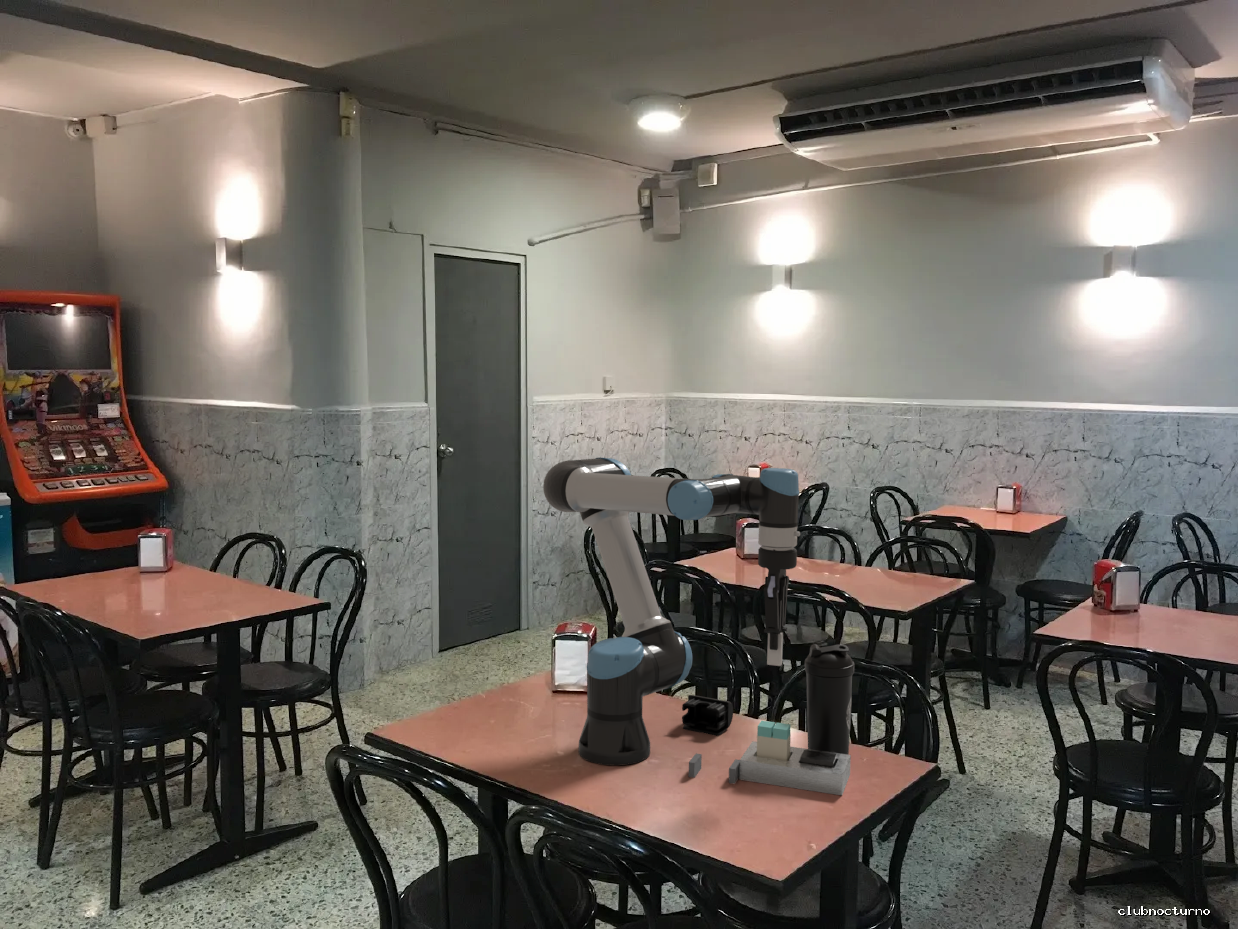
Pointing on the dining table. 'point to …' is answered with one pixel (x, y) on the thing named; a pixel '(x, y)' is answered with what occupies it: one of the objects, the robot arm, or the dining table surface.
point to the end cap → (707, 715)
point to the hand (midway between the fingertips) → (774, 664)
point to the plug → (773, 740)
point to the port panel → (798, 770)
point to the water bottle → (829, 698)
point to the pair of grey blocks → (696, 767)
